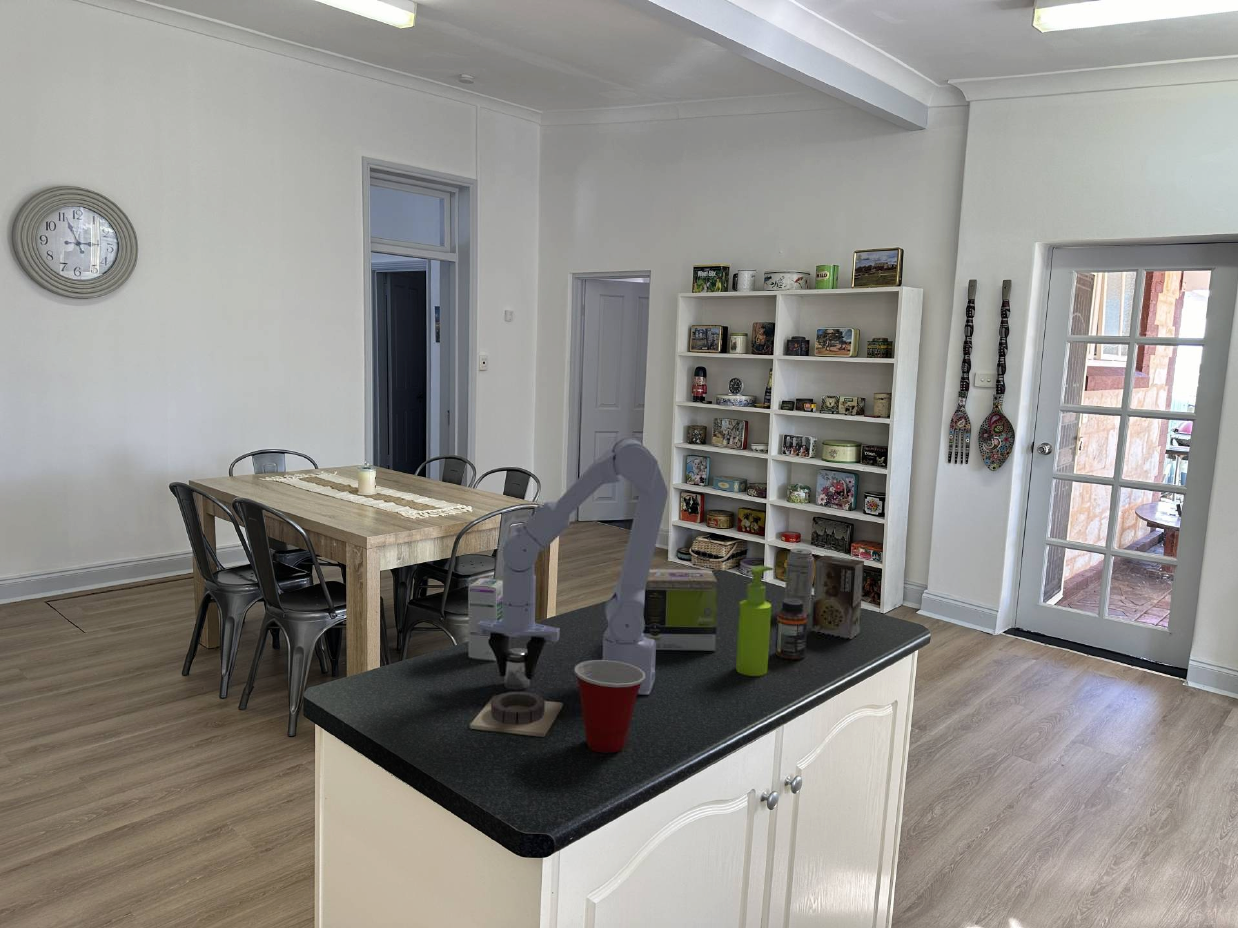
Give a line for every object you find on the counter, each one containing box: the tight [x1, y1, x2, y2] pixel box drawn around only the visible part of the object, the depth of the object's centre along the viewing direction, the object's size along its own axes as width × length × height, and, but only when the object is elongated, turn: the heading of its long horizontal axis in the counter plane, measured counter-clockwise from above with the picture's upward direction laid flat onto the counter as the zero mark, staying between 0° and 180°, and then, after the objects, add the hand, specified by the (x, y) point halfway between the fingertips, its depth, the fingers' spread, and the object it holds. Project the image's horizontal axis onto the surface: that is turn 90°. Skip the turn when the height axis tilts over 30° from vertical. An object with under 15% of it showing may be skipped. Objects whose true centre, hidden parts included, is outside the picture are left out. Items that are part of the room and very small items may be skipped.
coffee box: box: [811, 554, 865, 640], centre depth 191 cm, size 9×6×16 cm
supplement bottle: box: [774, 598, 808, 661], centre depth 176 cm, size 6×6×11 cm
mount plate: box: [469, 690, 563, 738], centre depth 143 cm, size 12×12×3 cm
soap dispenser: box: [735, 565, 774, 677], centre depth 167 cm, size 6×7×20 cm
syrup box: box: [467, 577, 503, 662], centre depth 170 cm, size 6×6×14 cm
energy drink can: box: [784, 548, 815, 616], centre depth 204 cm, size 6×6×15 cm
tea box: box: [643, 568, 719, 652], centre depth 180 cm, size 15×10×15 cm, turn 92°
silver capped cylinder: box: [504, 647, 531, 691], centre depth 156 cm, size 4×4×6 cm
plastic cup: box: [574, 659, 645, 754], centre depth 134 cm, size 11×11×12 cm
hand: (517, 675), depth 156 cm, fingers closed on silver capped cylinder, 4 cm apart
